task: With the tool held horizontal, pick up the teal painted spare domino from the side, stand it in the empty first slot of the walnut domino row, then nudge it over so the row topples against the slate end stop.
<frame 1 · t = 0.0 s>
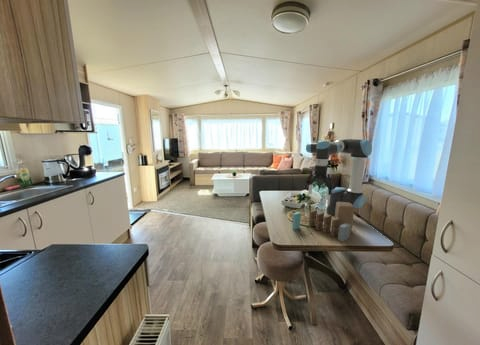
hand: (318, 196, 140), 28 cm above the table, tool pointing down, fingers open, 13 cm apart
domino 3: (319, 228, 155), on the table
domino 4: (326, 231, 151), on the table
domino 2: (312, 225, 160), on the table
spare domino: (296, 228, 155), on the table
end stop: (343, 238, 141), on the table
domino 5: (334, 235, 146), on the table
block: (342, 230, 154), on the table
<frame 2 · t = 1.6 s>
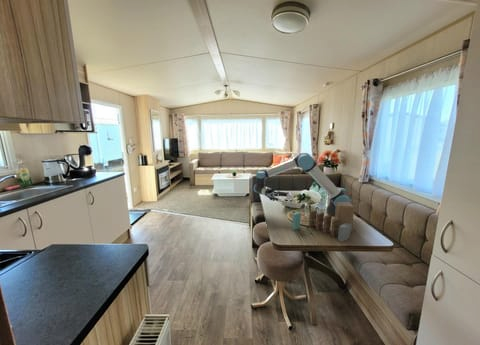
hand: (287, 199, 158), 20 cm above the table, tool horizontal, fingers open, 13 cm apart
nothing on the table moved.
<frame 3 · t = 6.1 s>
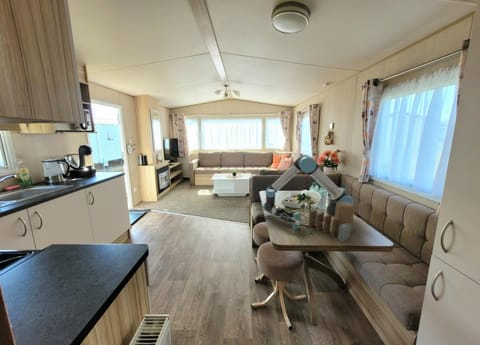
hand: (302, 222, 150), 7 cm above the table, tool horizontal, fingers closed on spare domino, 6 cm apart
spare domino: (296, 228, 155), on the table, touching gripper
everything else where it was.
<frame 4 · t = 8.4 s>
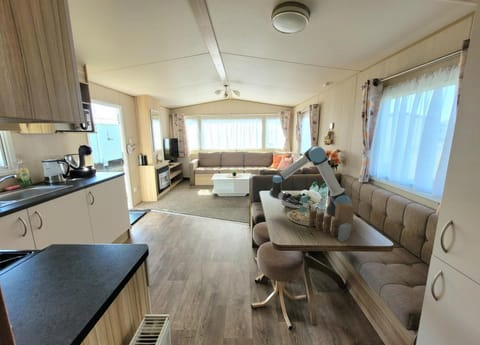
hand: (309, 204, 154), 18 cm above the table, tool horizontal, fingers closed on spare domino, 6 cm apart
spare domino: (303, 211, 159), point 11 cm above the table, touching gripper
everything else where it was.
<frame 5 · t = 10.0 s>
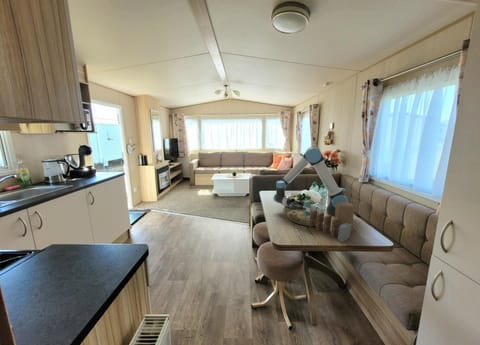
hand: (312, 209, 158), 13 cm above the table, tool horizontal, fingers closed on spare domino, 6 cm apart
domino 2: (312, 225, 160), on the table, touching gripper
spare domino: (306, 215, 164), point 6 cm above the table, touching gripper
everything else where it was.
when the fingers open (8 cm above the table, at t = 11.0 s): spare domino stays where it is, on the table.
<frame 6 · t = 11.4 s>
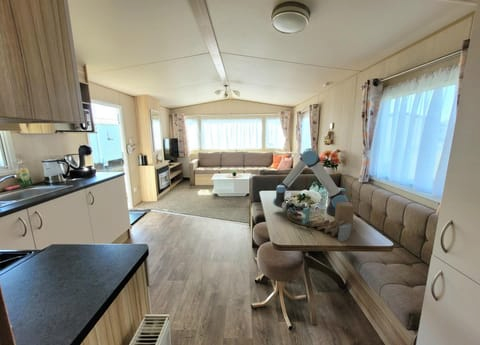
hand: (310, 214, 160), 8 cm above the table, tool horizontal, fingers open, 12 cm apart
domino 3: (320, 227, 155), point 1 cm above the table, tilted 51°, touching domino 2, domino 4
domino 4: (327, 231, 150), point 1 cm above the table, tilted 38°, touching domino 3, domino 5
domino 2: (313, 225, 159), point 1 cm above the table, tilted 58°, touching domino 3
spare domino: (305, 222, 165), on the table
domino 5: (334, 234, 146), on the table, tilted 22°, touching domino 4, end stop
everything else where it was.
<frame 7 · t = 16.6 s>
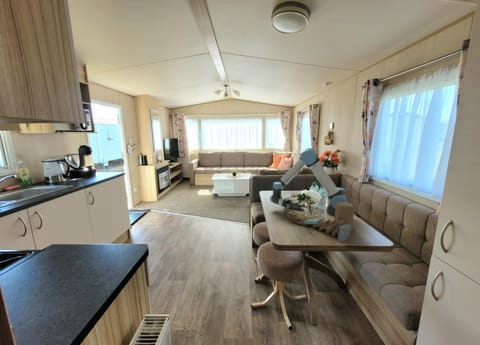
hand: (308, 211, 162), 10 cm above the table, tool horizontal, fingers closed
domino 3: (321, 228, 154), point 1 cm above the table, tilted 46°, touching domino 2, domino 4
domino 4: (328, 231, 149), point 1 cm above the table, tilted 33°, touching domino 3, domino 5
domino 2: (315, 225, 158), point 1 cm above the table, tilted 55°, touching domino 3, spare domino
spare domino: (306, 221, 164), point 1 cm above the table, tilted 68°, touching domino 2
everything else where it was.
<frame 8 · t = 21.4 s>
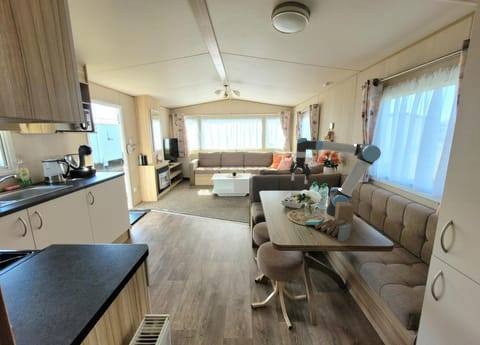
hand: (299, 182, 176), 29 cm above the table, tool pointing down, fingers open, 13 cm apart
domino 3: (323, 229, 152), point 1 cm above the table, tilted 40°, touching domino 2
domino 4: (329, 232, 149), on the table, tilted 29°, touching domino 5
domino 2: (317, 226, 156), point 1 cm above the table, tilted 49°, touching domino 3, spare domino
at the end: domino 5 tilted 20°; spare domino tilted 69°; spare domino inside the target area (0.6 cm from its centre), point 0.9 cm above the table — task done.
